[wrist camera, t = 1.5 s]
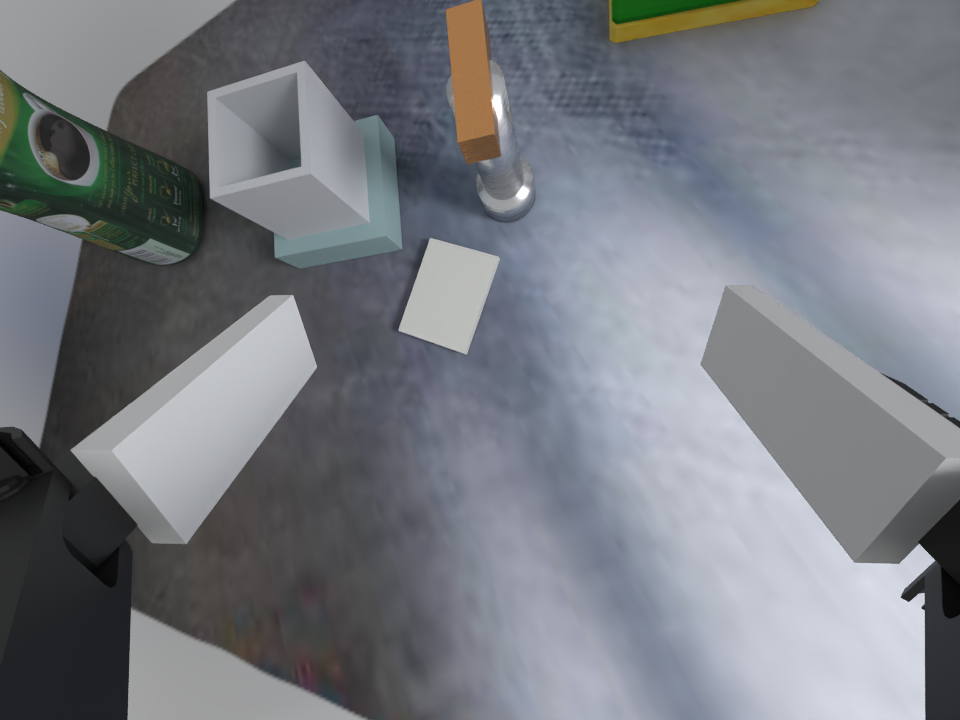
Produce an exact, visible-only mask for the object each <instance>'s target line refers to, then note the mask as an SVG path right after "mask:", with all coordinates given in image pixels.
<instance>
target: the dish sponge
mask: <svg viewBox="0 0 960 720" xmlns="http://www.w3.org/2000/svg"><path fill="white" fill-rule="evenodd" d="M818 1H819V0H609V32H610V40H611V41H612V42H613V43H618V42H623V41H629V40H634V39H639V38H645V37H650V36H656V35H661V34H667V33H672V32H678V31H683V30H688V29H694V28H699V27H705V26H710V25H716V24H721V23H726V22H732V21H737V20H743V19H748V18H754V17H759V16H764V15H770V14H775V13H781V12H786V11H792V10H797V9H802V8H808V7H813V6H815V5H816V4H817V3H818Z"/></svg>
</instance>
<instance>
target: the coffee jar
mask: <svg viewBox="0 0 960 720" xmlns="http://www.w3.org/2000/svg"><path fill="white" fill-rule="evenodd" d="M0 210H2V211H5V212H8V213H11V214H14V215H18V216H21V217H24V218H27V219H30V220H33V221H36V222H38V223H41V224H44V225H47V226H50V227H52V228H55V229H57V230H60V231H63V232H66V233H68V234H71V235H74V236H76V237H79V238H81V239H84V240H86V241H89V242H91V243H94V244H97V245H99V246H102V247H104V248H107V249H109V250H112V251H114V252H117V253H120V254H122V255H125V256H128V257H130V258H133V259H136V260H139V261H142V262H145V263H149V264H153V265H168V264H175V263H179V262H181V261H183V260H185V259H187V258H189V257H190V256H191V255H192V254H193V253H194V252H195V251H196V250H197V249H198V247H199V245H200V242H201V237H202V227H203V202H202V192H201V187H200V183H199V181H198V180H197V178H196V176H195V175H194V174H193V173H192V172H191V171H189V170H188V169H186V168H184V167H182V166H180V165H178V164H176V163H174V162H172V161H170V160H168V159H166V158H164V157H162V156H160V155H158V154H155V153H153V152H151V151H149V150H146V149H144V148H142V147H140V146H137V145H135V144H133V143H131V142H128V141H126V140H124V139H122V138H120V137H118V136H115V135H113V134H111V133H109V132H107V131H105V130H103V129H101V128H99V127H96V126H94V125H92V124H90V123H88V122H86V121H84V120H82V119H80V118H78V117H76V116H74V115H72V114H70V113H68V112H66V111H64V110H62V109H60V108H58V107H56V106H54V105H53V104H51V103H49V102H47V101H45V100H43V99H42V98H40V97H38V96H36V95H35V94H33V93H32V92H30V91H28V90H27V89H25V88H24V87H22V86H21V85H19V84H18V83H16V82H15V81H13V80H12V79H11V78H9V77H8V76H7V75H6V74H4V73H3V72H2V71H1V70H0Z"/></svg>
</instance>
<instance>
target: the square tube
mask: <svg viewBox="0 0 960 720" xmlns="http://www.w3.org/2000/svg"><path fill="white" fill-rule="evenodd" d="M207 97H208V138H209V179H210V199H212V200H214V201H216V202H218V203H220V204H221V205H223V206H225V207H227V208H229V209H231V210H233V211H235V212H237V213H238V214H240V215H242V216H244V217H246V218H248V219H250V220H252V221H254V222H255V223H257V224H259V225H261V226H263V227H265V228H267V229H269V230H271V231H272V232H274V247H275V258H277V259H279V260H281V261H284V262H286V263H288V264H290V265H293V266H295V267H297V268H299V269H301V268H306V267H312V266H317V265H323V264H328V263H333V262H339V261H344V260H350V259H355V258H360V257H366V256H371V255H377V254H382V253H387V252H393V251H398V250H403V249H402V235H401V222H400V208H399V194H398V181H397V167H396V154H395V140H394V138H393V136H392V135H391V133H390V132H389V130H388V129H387V127H386V126H385V125H384V123H383V122H382V120H381V119H380V117H379V116H378V115H375V116H371V117H368V118H364V119H360V120H357V121H353V120H352V119H351V117H350V116H349V115H348V114H347V112H346V111H345V110H344V109H343V107H342V106H341V105H340V104H339V102H338V101H337V100H336V99H335V97H334V96H333V95H332V94H331V93H330V91H329V90H328V89H327V88H326V86H325V85H324V84H323V83H322V81H321V80H320V79H319V78H318V76H317V75H316V74H315V73H314V71H313V70H312V69H311V68H310V66H309V65H308V64H307V63H306V61H302V62H299V63H296V64H293V65H290V66H287V67H283V68H280V69H277V70H274V71H271V72H268V73H265V74H262V75H258V76H255V77H252V78H249V79H246V80H243V81H240V82H237V83H234V84H230V85H227V86H224V87H221V88H218V89H215V90H212V91H209V92H207Z"/></svg>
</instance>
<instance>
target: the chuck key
mask: <svg viewBox="0 0 960 720" xmlns="http://www.w3.org/2000/svg"><path fill="white" fill-rule="evenodd" d="M446 17H447V28H448V39H449V50H450V61H451V72H452V74H451V76H450V78H449V80H448V83H447V88H446V94H447V99H448V102H449V104H450V107H451V109H452V111H453V114H454V116H455V118H456V128H457V139H458V144H459V146H460V149H461V151H462V153H463V155H464V157H465V160H466V162H467V164H471V163H474V164H475V166H476V169H477V171H478V175H477V179H476V188H477V192H478V195H479V197H480V199H481V201H482V203H483V205H484V207H485V210H486V212H487V213H488V214H489V216H490V217H492V218H493V219H495V220H497V221H499V222H505V223H508V222H514V221H517V220H519V219H521V218H523V217H524V216H525V215H526V214H527V213H528V212H529V211H530V210H531V208H532V206H533V204H534V201H535V186H534V181H533V175H532V170H531V167H530V165H529V163H528V162H527V161H526V160H525V159H524V158H523V157H521V156H520V153H519V148H518V143H517V139H516V134H515V129H514V124H513V119H512V115H511V110H510V105H509V100H508V95H507V90H506V86H505V81H504V76H503V72H502V70H501V68H500V67H499V65H498V64H497V63H495V62H494V61H492V59H491V49H490V39H489V31H488V26H487V22H486V17H485V13H484V8H483V4H482V0H474V1H471V2H468V3H465V4H462V5H459V6H456V7H453V8H450V9H447V10H446Z"/></svg>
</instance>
